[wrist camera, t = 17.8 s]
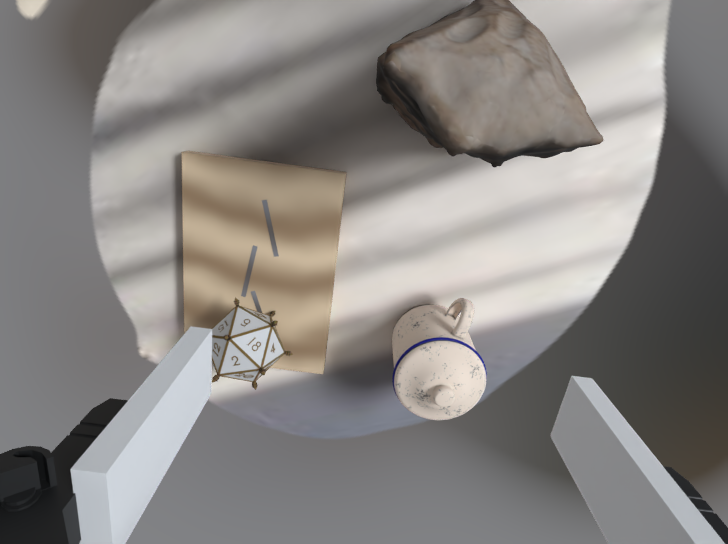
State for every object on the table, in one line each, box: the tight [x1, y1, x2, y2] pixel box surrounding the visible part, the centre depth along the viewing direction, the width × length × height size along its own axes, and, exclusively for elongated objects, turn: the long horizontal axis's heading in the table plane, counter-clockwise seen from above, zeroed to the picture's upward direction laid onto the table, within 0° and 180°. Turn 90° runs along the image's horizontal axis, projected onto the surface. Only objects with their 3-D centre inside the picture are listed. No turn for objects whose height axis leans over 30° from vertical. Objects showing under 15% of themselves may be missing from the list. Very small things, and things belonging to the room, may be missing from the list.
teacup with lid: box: [392, 298, 487, 420], centre depth 45 cm, size 12×9×12 cm
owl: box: [376, 0, 603, 167], centre depth 32 cm, size 13×13×20 cm
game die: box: [211, 297, 293, 389], centre depth 45 cm, size 9×8×10 cm
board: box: [182, 151, 346, 374], centre depth 47 cm, size 23×16×2 cm
